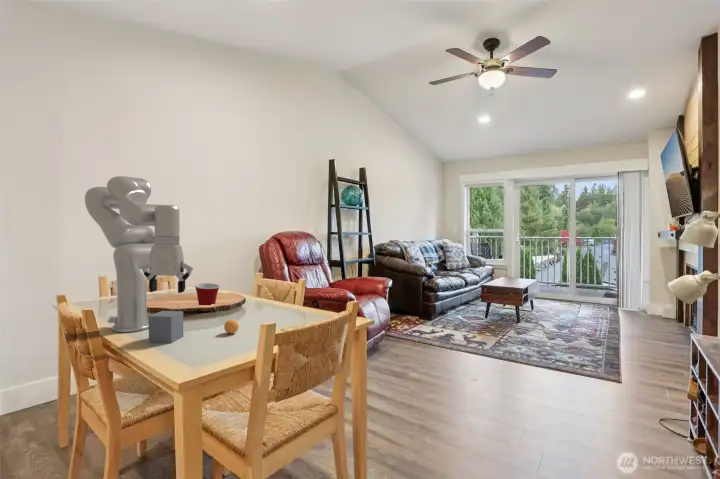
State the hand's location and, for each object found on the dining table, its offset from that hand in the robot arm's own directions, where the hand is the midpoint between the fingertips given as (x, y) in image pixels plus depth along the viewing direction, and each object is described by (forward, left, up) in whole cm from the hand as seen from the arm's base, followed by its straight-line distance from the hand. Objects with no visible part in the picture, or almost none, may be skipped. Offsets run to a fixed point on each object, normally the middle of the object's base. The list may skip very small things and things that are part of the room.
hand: (167, 291), depth 130 cm
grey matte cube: (0, 0, -16) cm, 16 cm away
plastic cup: (-5, +42, -17) cm, 45 cm away
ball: (+19, +9, -14) cm, 25 cm away
